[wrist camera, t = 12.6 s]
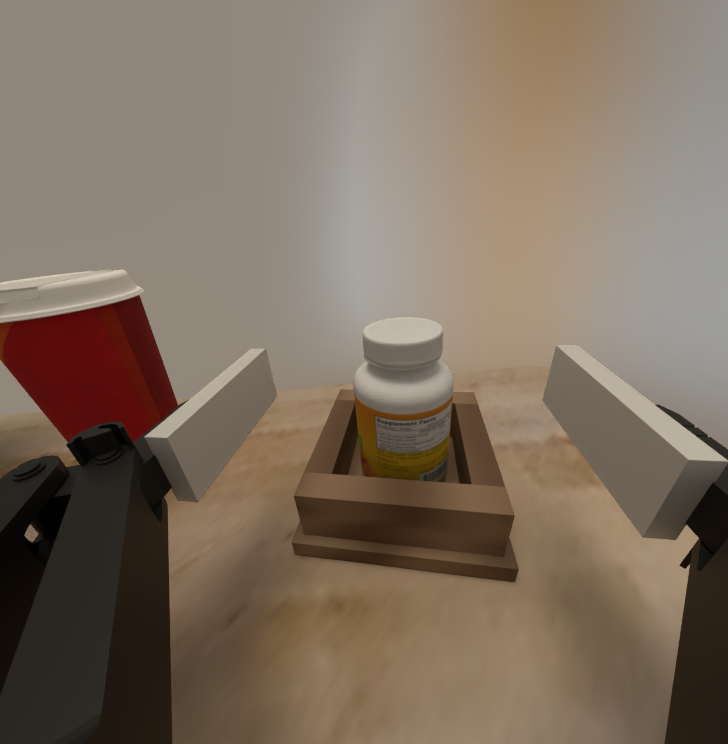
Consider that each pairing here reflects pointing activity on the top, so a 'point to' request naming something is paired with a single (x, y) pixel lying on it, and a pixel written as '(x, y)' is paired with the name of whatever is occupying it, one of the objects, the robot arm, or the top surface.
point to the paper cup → (85, 351)
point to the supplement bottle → (403, 401)
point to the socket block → (408, 503)
